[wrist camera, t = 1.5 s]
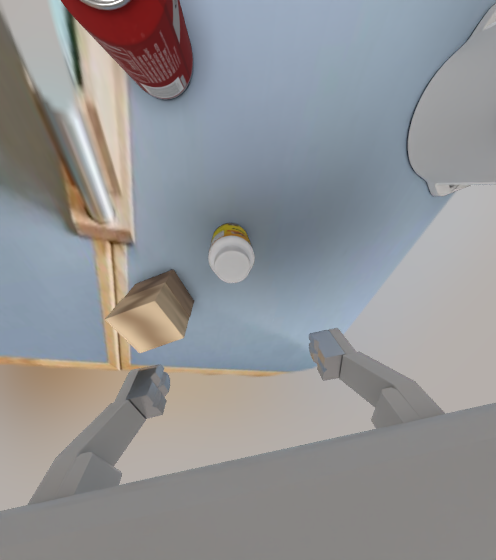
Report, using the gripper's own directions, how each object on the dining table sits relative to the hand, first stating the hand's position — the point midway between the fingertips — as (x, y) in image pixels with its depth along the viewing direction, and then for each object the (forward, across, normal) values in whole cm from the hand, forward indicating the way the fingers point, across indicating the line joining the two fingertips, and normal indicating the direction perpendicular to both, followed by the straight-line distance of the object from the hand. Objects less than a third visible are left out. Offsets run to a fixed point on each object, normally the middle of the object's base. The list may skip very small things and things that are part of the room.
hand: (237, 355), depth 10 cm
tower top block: (+17, +13, +7) cm, 23 cm away
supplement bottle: (+22, 0, 0) cm, 22 cm away
